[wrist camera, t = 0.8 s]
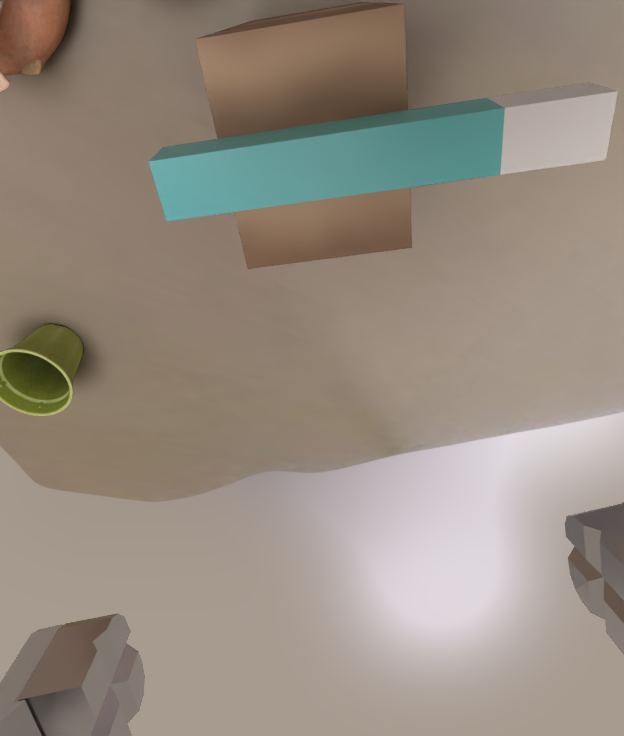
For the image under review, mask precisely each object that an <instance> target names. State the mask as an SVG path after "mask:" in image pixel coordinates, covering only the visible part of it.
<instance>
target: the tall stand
mask: <svg viewBox="0 0 624 736" xmlns="http://www.w3.org/2000/svg"><path fill="white" fill-rule="evenodd" d="M195 42H196V46H197V50H198V55H199V59H200V63H201V68H202V72H203V77H204V81H205V85H206V90H207V94H208V98H209V103H210V107H211V111H212V116H213V120H214V125H215V129H216V133H217V138H218V139H221V138H228V137H234V136H241V135H247V134H254V133H260V132H267V131H274V130H280V129H287V128H293V127H300V126H306V125H313V124H320V123H326V122H333V121H339V120H346V119H352V118H359V117H366V116H372V115H379V114H385V113H392V112H398V111H405V110H408V102H407V69H406V36H405V4H392V3H368V2H361V3H355V4H349V5H343V6H337V7H331V8H325V9H320V10H314V11H308V12H302V13H296V14H290V15H284V16H279V17H273V18H267V19H261V20H255V21H249V22H246V23H243V24H240V25H237V26H234V27H231V28H228V29H225V30H222V31H219V32H216V33H213V34H210V35H207V36H204V37H201V38H198V39H195ZM235 216H236V220H237V225H238V229H239V234H240V238H241V242H242V247H243V251H244V255H245V260H246V264H247V268H248V269H251V268H259V267H266V266H274V265H282V264H289V263H297V262H305V261H312V260H320V259H328V258H335V257H343V256H351V255H358V254H366V253H374V252H381V251H389V250H397V249H405V248H412V232H411V200H410V187H409V188H402V189H394V190H387V191H380V192H373V193H366V194H359V195H352V196H344V197H337V198H330V199H323V200H316V201H309V202H302V203H294V204H287V205H280V206H273V207H266V208H259V209H251V210H244V211H237V212H235Z"/></svg>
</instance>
